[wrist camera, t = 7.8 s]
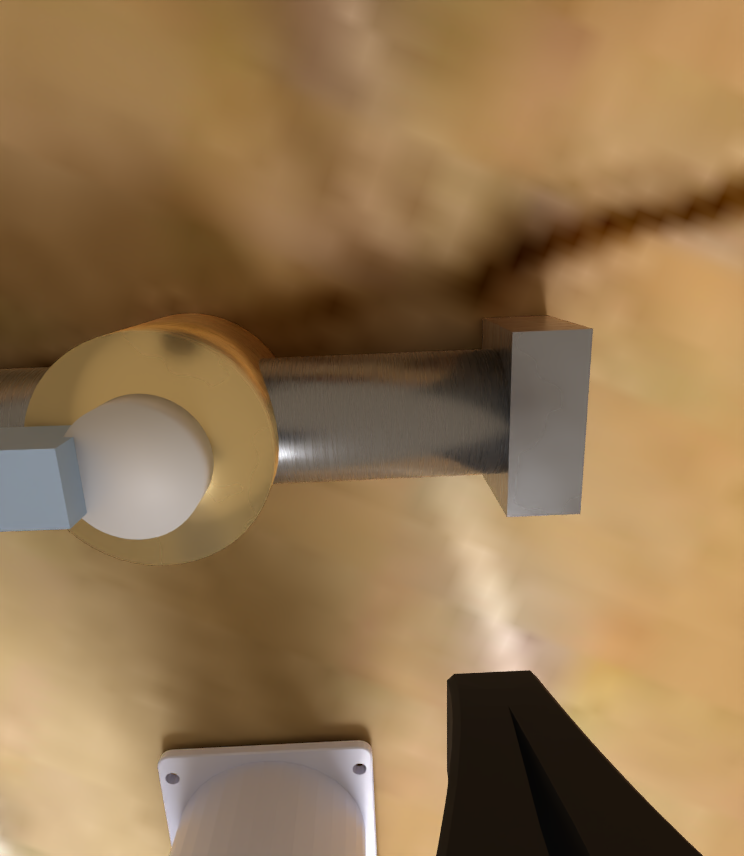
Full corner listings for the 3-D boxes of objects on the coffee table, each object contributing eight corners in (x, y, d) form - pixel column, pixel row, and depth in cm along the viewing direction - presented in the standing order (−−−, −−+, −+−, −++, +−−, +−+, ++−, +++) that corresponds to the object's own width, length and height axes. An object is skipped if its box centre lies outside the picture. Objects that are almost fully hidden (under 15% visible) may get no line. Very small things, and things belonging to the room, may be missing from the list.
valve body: (548, 298, 18) (609, 311, 13) (539, 482, 19) (591, 545, 15) (-182, 328, 17) (-358, 350, 13) (-126, 511, 19) (-267, 585, 15)
